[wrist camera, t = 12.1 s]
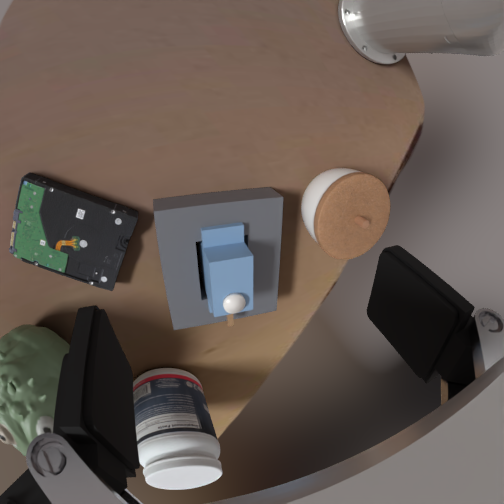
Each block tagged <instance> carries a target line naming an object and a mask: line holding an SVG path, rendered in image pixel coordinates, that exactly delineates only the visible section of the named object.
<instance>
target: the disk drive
mask: <svg viewBox="0 0 504 504" xmlns="http://www.w3.org/2000/svg"><path fill="white" fill-rule="evenodd" d="M137 219H138V212H137V211H134V210H132V209H129V208H128V207H125V206H122V205H120V204H115V203H113V202H110V201H107V200H104V199H101V198H99V197H95V196H93V195H90V194H87V193H85V192H82V191H79V190H76V189H73V188H71V187H68V186H65V185H63V184H60V183H57V182H54V181H52V180H50V179H48V178H45V177H41V176H38V175H36V174H32V173H28V174H26V175H25V176H23V177H22V179H21V183H20V187H19V191H18V196H17V201H16V206H15V210H14V216H13V220H14V221H13V227H12V229H13V230H12V234H11V242H10V245H11V247H10V248H9V250H10V251H9V252H10V253H11V254H14V257H16V258H19V259H21V260H22V261H24V262H26V263H29V264H33V265H36V266H38V267H41V268H43V269H46V270H49V271H52V272H54V273H57V274H60V275H63V276H66V277H69V278H72V279H75V280H78V281H81V282H84V283H87V284H91V285H93V286H96V287H99V288H103V289H107V290H110V291H112V290H113V288H114V286H115V282H116V279H117V276H118V273H119V270H120V267H121V264H122V261H123V258H124V255H125V252H126V249H127V246H128V243H129V240H130V237H131V236H132V233H133V230H134V228H135V225H136V222H137Z"/></svg>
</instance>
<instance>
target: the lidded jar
mask: <svg viewBox="0 0 504 504" xmlns="http://www.w3.org/2000/svg"><path fill="white" fill-rule="evenodd" d="M301 213H302V218H303V222H304V224H305V227H306V229H307V230H308V232H309V234H310V235H311V236H312V238H313V239H314V240H315V241H316V242H317V243H318V244H319V245H320V247H321V248H322V249H323V250H324V251H325V252H326V253H327V254H328V255H330V256H331V257H334V258H336V259H352V258H355V257H358V256H360V255H362V254H364V253H365V252H367V251H368V250H369V249H370V248H372V247H373V246H374V244H375V243H376V242H377V241H378V240H379V238H380V237H381V235H382V234H383V232H384V230H385V228H386V225H387V223H388V220H389V215H390V198H389V194H388V191H387V189H386V187H385V185H384V184H383V183H382V182H381V180H379V179H378V178H377V177H375V176H373V175H370V174H368V173H364V172H361V171H358V170H354V169H349V168H334V169H330V170H327V171H324V172H322V173H321V174H319V175H318V176H316V177H315V178H314V179H313V180H312V181H311V182H310V184H309V185H308V186H307V188H306V190H305V192H304V195H303V199H302V205H301Z"/></svg>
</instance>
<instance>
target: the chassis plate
mask: <svg viewBox="0 0 504 504" xmlns="http://www.w3.org/2000/svg"><path fill="white" fill-rule="evenodd" d="M153 206H154V218H155V226H156V233H157V240H158V247H159V253H160V259H161V266H162V272H163V277H164V283H165V288H166V294H167V299H168V304H169V309H170V314H171V319H172V324H173V328H174V330H177V329H183V328H189V327H195V326H200V325H206V324H212V323H217V322H222V321H227V316H226V315H224V316H218V317H214V315H213V313H210V312H209V307H208V298H207V294H206V291H205V288H204V285H203V282H199V272H198V262H197V252H196V242H198V241H202V237H201V228H203V227H210V226H217V225H225V224H232V223H240V222H242V223H243V225H244V242H245V244H246V245H247V247H248V248H249V250H250V251H251V253H252V254H253V310H249V311H244V312H239V313H235V314H233V319H238V318H243V317H248V316H253V315H257V314H262V313H267V312H272V311H276V309H277V296H278V281H279V266H280V250H281V233H282V214H283V196H281V195H280V194H279V193H277V192H276V191H275V190H273V189H272V188H271V187H265V188H253V189H242V190H231V191H221V192H211V193H202V194H193V195H185V196H177V197H169V198H161V199H154V200H153Z"/></svg>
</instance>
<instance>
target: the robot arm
mask: <svg viewBox="0 0 504 504" xmlns="http://www.w3.org/2000/svg"><path fill="white" fill-rule="evenodd" d="M338 15H339V21H340V24H341V27H342V30H343V32H344V34H345V36H346V38H347V39H348V41H349V42H350V44H351V45H352V46H353V47H354V49H355V50H356V51H357V52H358V53H360V54H361V55H362V56H363V57H365V58H366V59H368V60H370V61H372V62H375V63H379V64H392V63H396V62H398V61H400V60H401V59H402V58H403V57H404V56H405V54H406V53H452V54H467V55H478V56H494V55H497V54H499V53H501V52H503V51H504V0H340V1H339V6H338ZM473 310H474V306H473V305H472V304H470V303H469V302H468V301H467V300H466V299H465V298H464V297H463V296H461V295H460V294H459V293H458V292H457V291H455V290H454V289H453V288H452V287H451V286H450V285H448V284H447V283H446V282H445V281H443V280H442V279H441V278H440V277H439V276H438V275H436V274H435V273H434V272H432V271H431V270H430V269H429V268H428V267H426V266H425V265H424V264H422V263H421V262H420V261H419V260H418V259H416V258H415V257H414V256H412V255H411V254H410V253H408V252H407V251H406V250H405V249H403V248H402V247H400V246H398V245H396V246H392V247H388V248H385V249H384V250H383V251H382V253H381V254H380V256H379V261H378V265H377V270H376V274H375V279H374V283H373V287H372V291H371V296H370V299H369V303H368V307H367V315H368V317H369V319H370V320H371V321H372V322H373V324H374V325H375V326H376V327H377V328H378V329H379V331H380V332H381V333H382V334H383V335H384V336H385V338H386V339H387V340H388V341H389V342H390V343H391V345H392V346H393V347H394V348H395V349H396V351H397V352H398V353H399V354H400V355H401V357H402V358H403V359H404V360H405V361H406V363H407V364H408V365H409V366H410V367H411V369H412V370H413V371H414V372H415V374H416V375H417V376H418V377H420V378H422V379H423V380H424V381H425V383H428V382H430V381H431V380H433V379H434V378H436V376H437V375H438V373H439V374H440V375H441V406H440V407H439V408H437V409H436V410H434V411H433V412H431V413H430V414H428V415H427V416H425V417H424V418H422V419H421V420H419V421H417V422H416V423H414V424H413V425H411V426H409V427H408V428H406V429H404V430H403V431H401V432H399V433H398V434H396V435H394V436H392V437H391V438H389V439H387V440H385V441H383V442H381V443H379V444H378V445H376V446H374V447H372V448H370V449H368V450H366V451H364V452H362V453H360V454H358V455H356V456H353V457H351V458H349V459H347V460H345V461H342V462H340V463H338V464H336V465H333V466H331V467H329V468H326V469H324V470H321V471H319V472H316V473H313V474H311V475H308V476H306V477H303V478H300V479H297V480H294V481H291V482H288V483H285V484H282V485H279V486H276V487H272V488H269V489H265V490H262V491H258V492H255V493H251V494H247V495H243V496H238V497H234V498H230V499H225V500H221V501H216V502H211V503H205V504H504V319H503V318H502V317H501V316H500V315H499V314H498V313H496V312H495V311H493V310H490V309H486V308H485V309H484V308H482V309H479V310H478V311H476V313H475V315H474V317H472V316H471V314H472V312H473ZM26 459H27V465H28V469H27V470H26V471H25V472H24V473H23V474H22V475H21V476H20V477H19V478H18V479H17V480H16V481H15V482H14V483H13V484H12V485H11V486H10V487H9V488H8V489H7V490H6V491H5V492H4V493H3V494H2V495H1V496H0V504H143V503H141V502H140V501H139V500H138V499H137V498H136V497H135V496H133V495H132V494H131V493H130V492H129V491H128V490H127V489H126V488H127V480H126V477H136V473H135V469H138V468H139V466H140V462H139V454H138V445H137V435H136V425H135V412H134V395H133V375H132V370H131V367H130V365H129V363H128V361H127V359H126V357H125V354H124V352H123V350H122V348H121V346H120V344H119V342H118V340H117V337H116V335H115V333H114V331H113V328H112V326H111V324H110V322H109V319H108V317H107V314H106V312H105V310H104V309H101V310H99V308H98V307H97V306H96V305H95V306H89V307H83V308H79V310H78V313H77V317H76V321H75V325H74V330H73V334H72V339H71V344H70V349H69V353H66V354H65V355H64V357H63V360H62V366H61V371H60V377H59V383H58V390H57V397H56V405H55V413H54V423H53V433H43V434H40V435H39V436H37V437H35V438H34V439H33V440H32V442H31V443H30V445H29V447H28V449H27V454H26Z"/></svg>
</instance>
